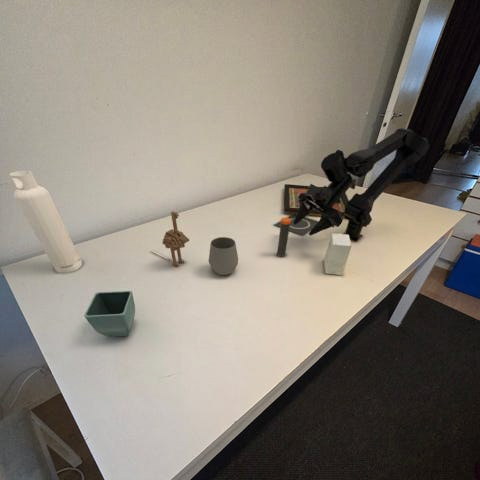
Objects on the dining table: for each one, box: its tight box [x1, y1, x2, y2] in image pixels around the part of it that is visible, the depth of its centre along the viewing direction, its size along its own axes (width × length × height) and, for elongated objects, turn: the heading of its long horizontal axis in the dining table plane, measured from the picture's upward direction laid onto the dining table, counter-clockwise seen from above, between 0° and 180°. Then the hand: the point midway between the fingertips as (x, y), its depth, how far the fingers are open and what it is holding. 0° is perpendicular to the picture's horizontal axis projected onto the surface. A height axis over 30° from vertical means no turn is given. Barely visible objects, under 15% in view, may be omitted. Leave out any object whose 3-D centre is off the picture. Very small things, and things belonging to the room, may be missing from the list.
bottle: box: [9, 169, 83, 274], centre depth 77 cm, size 8×8×28 cm
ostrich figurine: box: [151, 211, 190, 268], centre depth 85 cm, size 17×7×18 cm, turn 54°
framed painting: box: [283, 183, 350, 219], centre depth 129 cm, size 38×35×3 cm
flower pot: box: [83, 290, 136, 338], centre depth 64 cm, size 9×9×9 cm
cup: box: [208, 236, 239, 276], centre depth 83 cm, size 10×9×10 cm
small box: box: [323, 232, 352, 276], centre depth 85 cm, size 8×6×10 cm
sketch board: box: [273, 214, 319, 237], centre depth 112 cm, size 16×14×1 cm
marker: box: [276, 217, 291, 258], centre depth 90 cm, size 3×3×13 cm
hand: (301, 229), depth 90 cm, fingers open, 9 cm apart
